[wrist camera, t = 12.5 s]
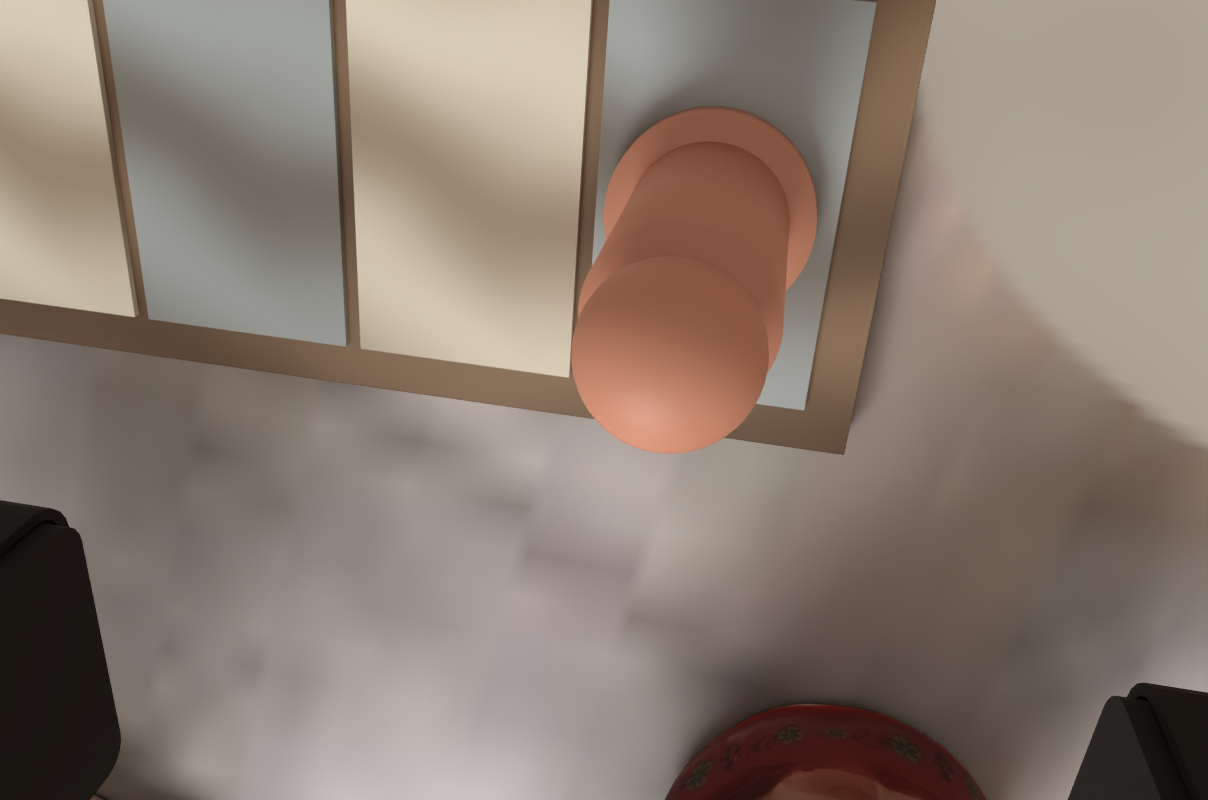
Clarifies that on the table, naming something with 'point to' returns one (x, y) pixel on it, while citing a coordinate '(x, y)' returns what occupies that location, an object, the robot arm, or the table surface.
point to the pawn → (692, 278)
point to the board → (422, 179)
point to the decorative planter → (823, 760)
